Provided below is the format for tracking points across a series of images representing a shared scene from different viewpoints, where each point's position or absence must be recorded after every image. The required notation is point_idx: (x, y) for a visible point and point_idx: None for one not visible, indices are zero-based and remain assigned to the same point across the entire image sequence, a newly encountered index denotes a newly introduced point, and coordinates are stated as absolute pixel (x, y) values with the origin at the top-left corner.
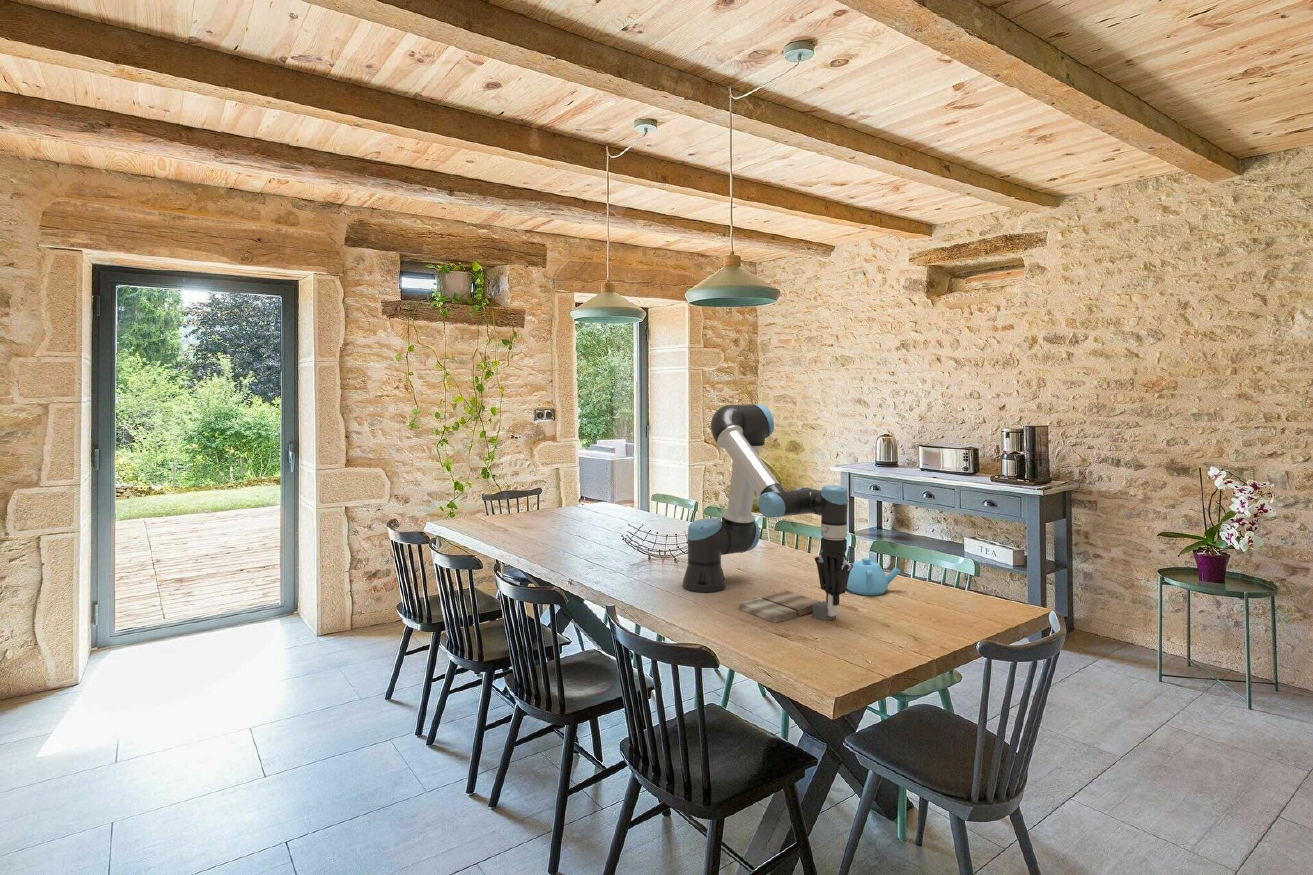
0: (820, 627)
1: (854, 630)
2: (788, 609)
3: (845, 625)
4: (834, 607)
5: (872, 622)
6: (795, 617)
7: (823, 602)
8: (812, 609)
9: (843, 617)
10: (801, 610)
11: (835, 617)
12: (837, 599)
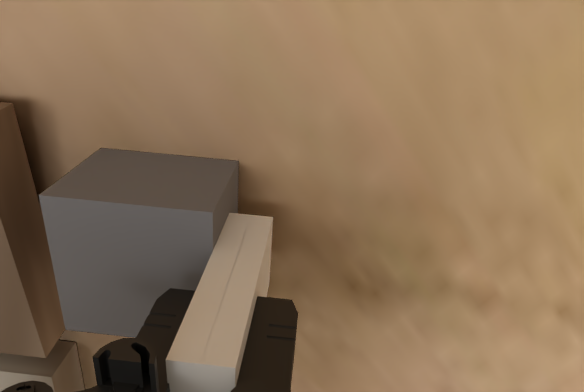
0: (303, 381)
1: (505, 291)
2: (3, 387)
3: (398, 252)
4: (260, 296)
5: (548, 12)
6: (76, 346)
7: (70, 227)
8: (31, 215)
9: (270, 104)
10: (46, 330)
11: (236, 170)
12: (291, 376)
